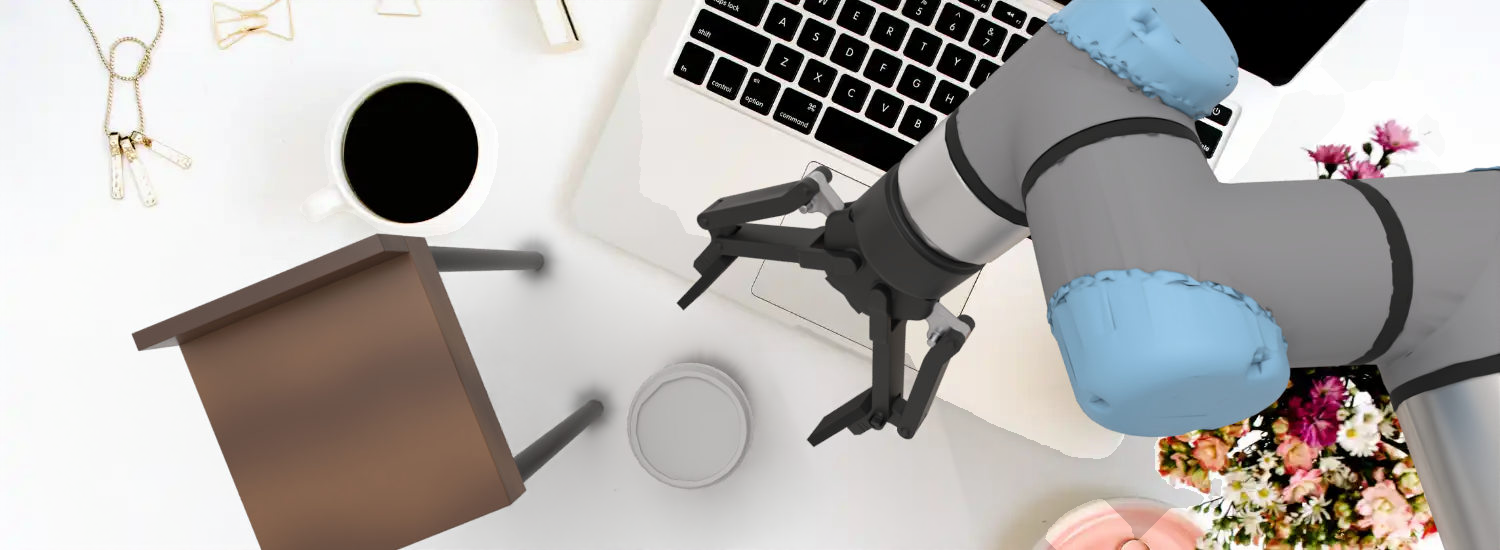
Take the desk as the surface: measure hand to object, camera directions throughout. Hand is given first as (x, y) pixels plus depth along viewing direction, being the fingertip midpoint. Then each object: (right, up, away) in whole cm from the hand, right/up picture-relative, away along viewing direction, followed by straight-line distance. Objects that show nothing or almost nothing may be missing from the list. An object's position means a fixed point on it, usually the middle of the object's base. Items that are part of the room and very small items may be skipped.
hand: (754, 364), depth 62 cm
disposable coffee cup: (-4, -5, +12) cm, 14 cm away
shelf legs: (-22, -1, +13) cm, 25 cm away
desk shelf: (-23, -1, -12) cm, 26 cm away
